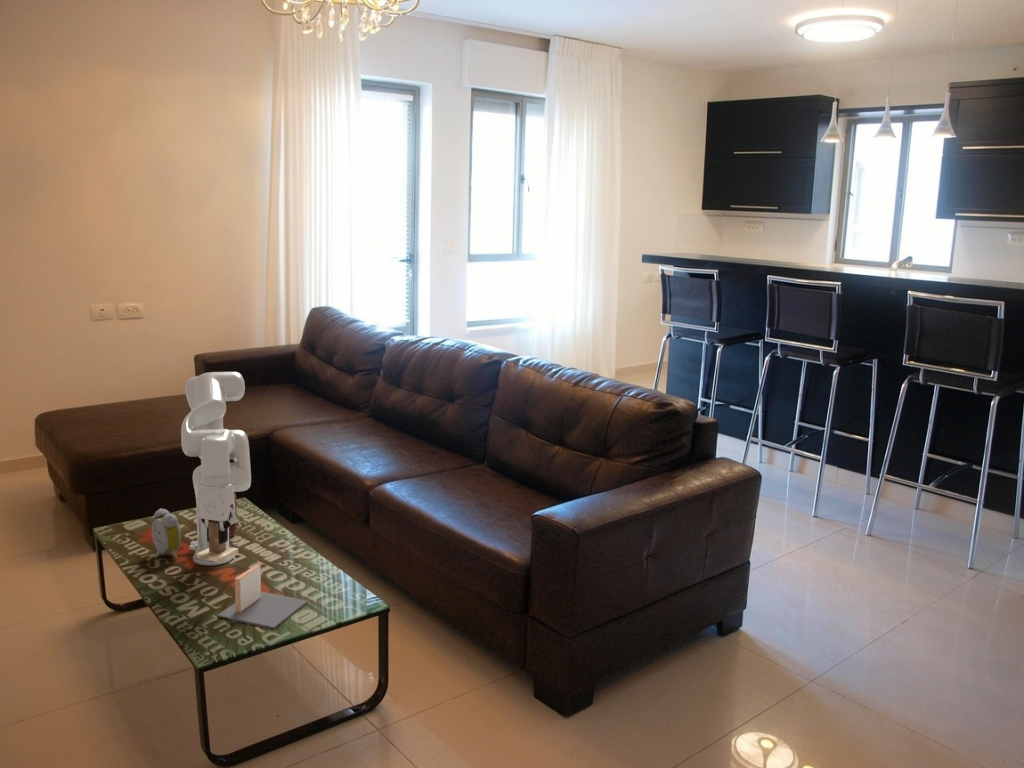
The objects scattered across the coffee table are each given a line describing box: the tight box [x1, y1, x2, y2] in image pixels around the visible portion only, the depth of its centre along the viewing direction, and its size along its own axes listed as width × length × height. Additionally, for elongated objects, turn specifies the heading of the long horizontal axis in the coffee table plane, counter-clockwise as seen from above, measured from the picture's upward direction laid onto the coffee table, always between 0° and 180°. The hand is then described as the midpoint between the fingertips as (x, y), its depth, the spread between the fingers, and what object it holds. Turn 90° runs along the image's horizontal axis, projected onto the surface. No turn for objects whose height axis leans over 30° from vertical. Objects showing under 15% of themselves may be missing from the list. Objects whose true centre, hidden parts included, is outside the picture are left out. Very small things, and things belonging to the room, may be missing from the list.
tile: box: [234, 564, 262, 612], centre depth 235 cm, size 2×10×10 cm, turn 162°
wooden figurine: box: [229, 492, 238, 538], centre depth 287 cm, size 12×6×18 cm, turn 29°
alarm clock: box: [151, 507, 182, 560], centre depth 266 cm, size 12×7×15 cm, turn 44°
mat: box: [217, 590, 309, 630], centre depth 235 cm, size 18×17×1 cm
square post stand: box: [196, 520, 239, 562], centre depth 235 cm, size 8×8×10 cm
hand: (217, 540), depth 235 cm, fingers closed on square post stand, 3 cm apart
